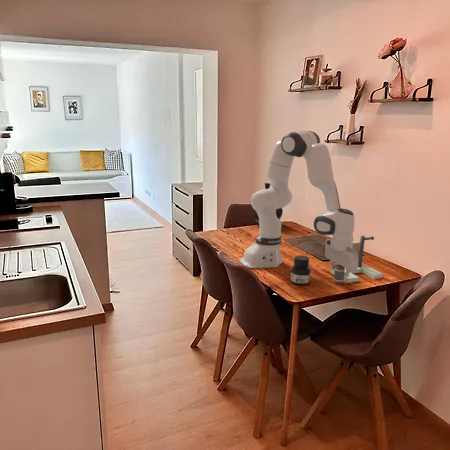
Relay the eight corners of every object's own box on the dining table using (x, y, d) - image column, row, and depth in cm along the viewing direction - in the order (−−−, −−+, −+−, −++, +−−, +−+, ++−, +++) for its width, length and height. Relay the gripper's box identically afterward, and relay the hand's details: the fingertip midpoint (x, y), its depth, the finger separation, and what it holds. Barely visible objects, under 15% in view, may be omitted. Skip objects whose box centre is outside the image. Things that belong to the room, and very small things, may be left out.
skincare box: (349, 266, 215) (351, 243, 212) (343, 263, 219) (345, 241, 216) (358, 264, 218) (361, 242, 215) (352, 261, 222) (354, 239, 219)
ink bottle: (287, 284, 190) (289, 259, 187) (291, 277, 198) (293, 253, 195) (309, 287, 187) (311, 262, 184) (311, 280, 195) (313, 256, 192)
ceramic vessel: (256, 228, 282) (257, 185, 275) (249, 222, 299) (251, 181, 291) (285, 227, 286) (288, 184, 279) (277, 221, 303) (279, 180, 295)
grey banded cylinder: (337, 284, 191) (338, 268, 189) (331, 281, 195) (332, 265, 193) (345, 283, 192) (347, 267, 190) (339, 279, 196) (341, 263, 195)
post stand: (348, 282, 193) (352, 246, 189) (330, 272, 206) (333, 237, 201) (386, 277, 201) (390, 241, 197) (366, 267, 214) (370, 233, 209)
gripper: (363, 250, 180) (360, 280, 184) (334, 238, 199) (332, 265, 202) (351, 251, 178) (348, 282, 182) (323, 239, 197) (321, 266, 200)
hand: (339, 273), depth 192 cm, fingers open, 8 cm apart
